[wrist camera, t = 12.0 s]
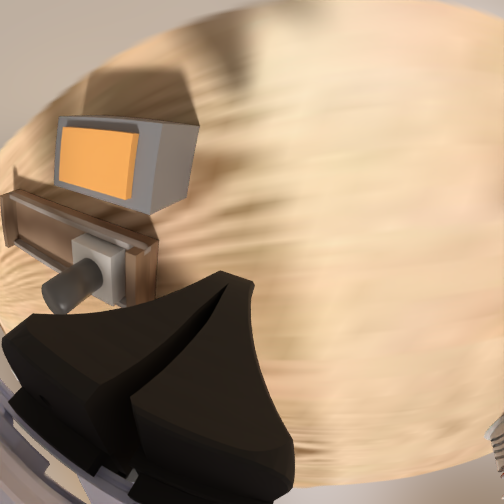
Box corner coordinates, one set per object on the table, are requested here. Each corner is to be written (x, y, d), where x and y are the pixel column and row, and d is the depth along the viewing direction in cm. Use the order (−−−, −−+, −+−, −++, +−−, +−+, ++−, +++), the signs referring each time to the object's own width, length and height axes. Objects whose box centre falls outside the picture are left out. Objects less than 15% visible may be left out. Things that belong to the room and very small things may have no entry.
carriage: (125, 295, 24) (78, 338, 18) (88, 277, 24) (41, 311, 18) (125, 248, 22) (67, 286, 15) (85, 232, 22) (30, 262, 16)
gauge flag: (131, 197, 16) (125, 199, 15) (64, 178, 17) (58, 180, 16) (139, 133, 14) (133, 133, 13) (68, 126, 15) (62, 127, 14)
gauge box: (186, 197, 20) (149, 214, 16) (92, 173, 22) (52, 184, 17) (199, 126, 18) (162, 123, 13) (99, 115, 19) (57, 116, 15)
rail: (154, 305, 25) (136, 325, 22) (22, 236, 28) (5, 245, 25) (158, 240, 22) (135, 256, 19) (19, 188, 25) (-1, 195, 22)
